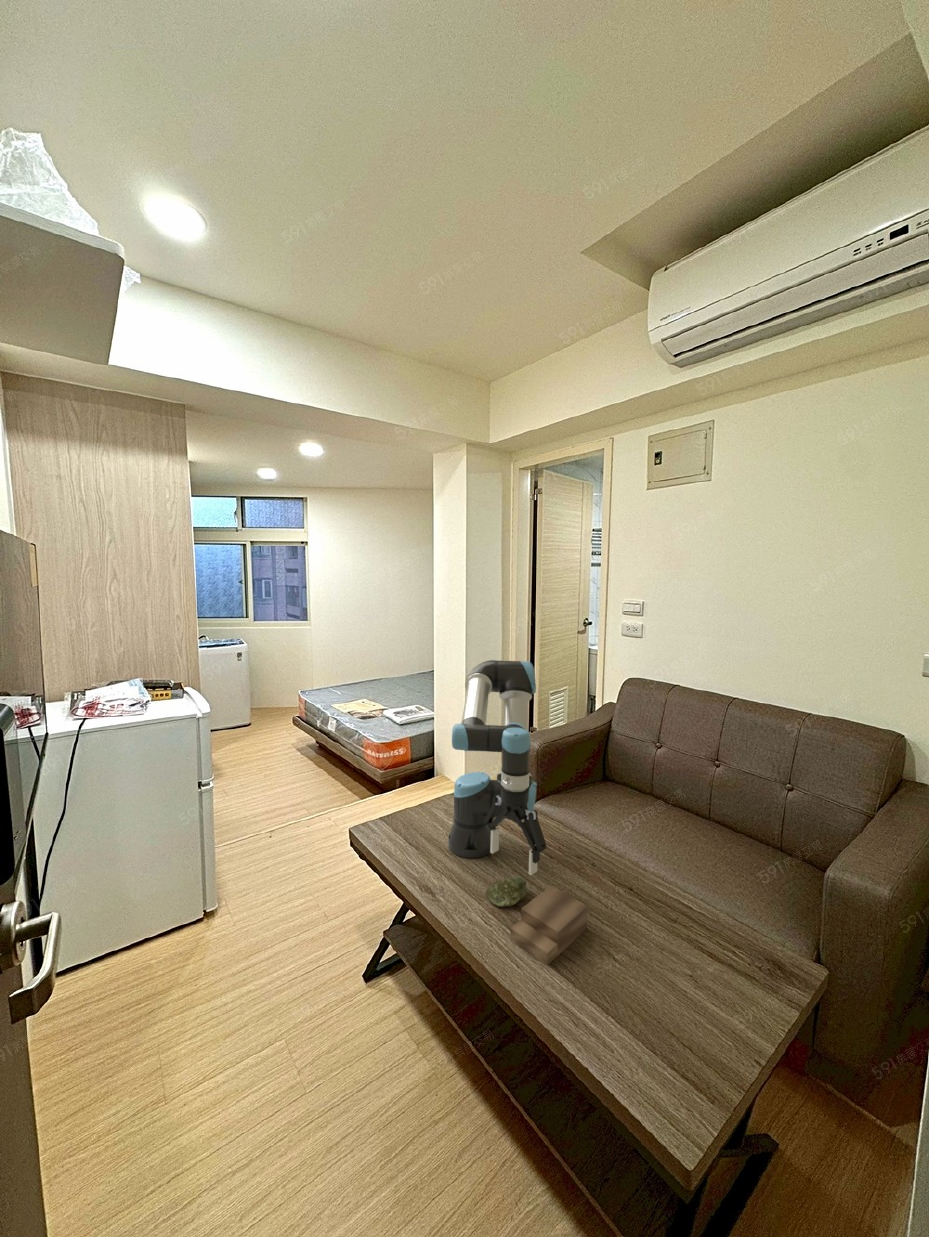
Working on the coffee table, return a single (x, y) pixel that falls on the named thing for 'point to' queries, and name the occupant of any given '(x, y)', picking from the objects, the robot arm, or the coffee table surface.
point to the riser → (549, 924)
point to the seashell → (507, 891)
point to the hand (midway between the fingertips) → (513, 861)
